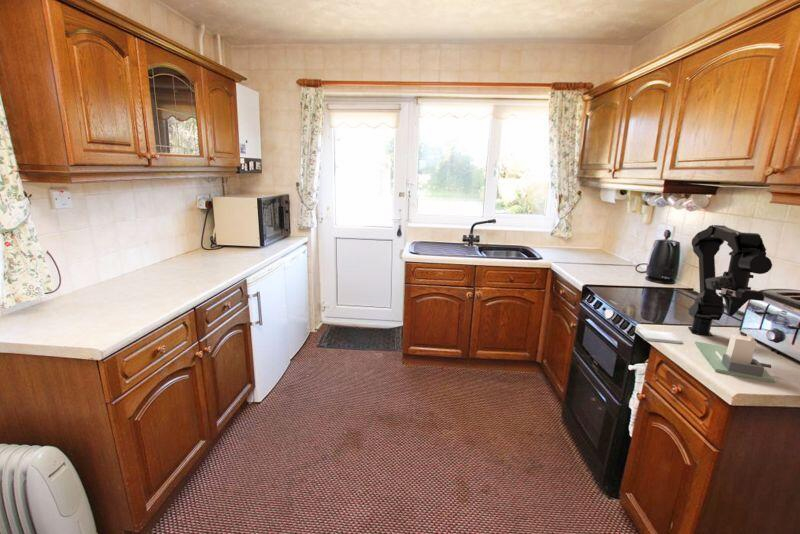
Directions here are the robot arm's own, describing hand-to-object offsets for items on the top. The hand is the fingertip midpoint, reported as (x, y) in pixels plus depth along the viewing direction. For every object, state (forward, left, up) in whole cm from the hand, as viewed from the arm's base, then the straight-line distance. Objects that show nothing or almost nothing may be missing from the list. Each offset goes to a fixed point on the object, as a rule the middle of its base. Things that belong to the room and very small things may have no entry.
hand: (730, 315), depth 129 cm
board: (+9, 0, -13) cm, 16 cm away
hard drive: (-3, -18, -14) cm, 23 cm away
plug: (+13, +3, -12) cm, 18 cm away
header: (+17, 0, -12) cm, 21 cm away
